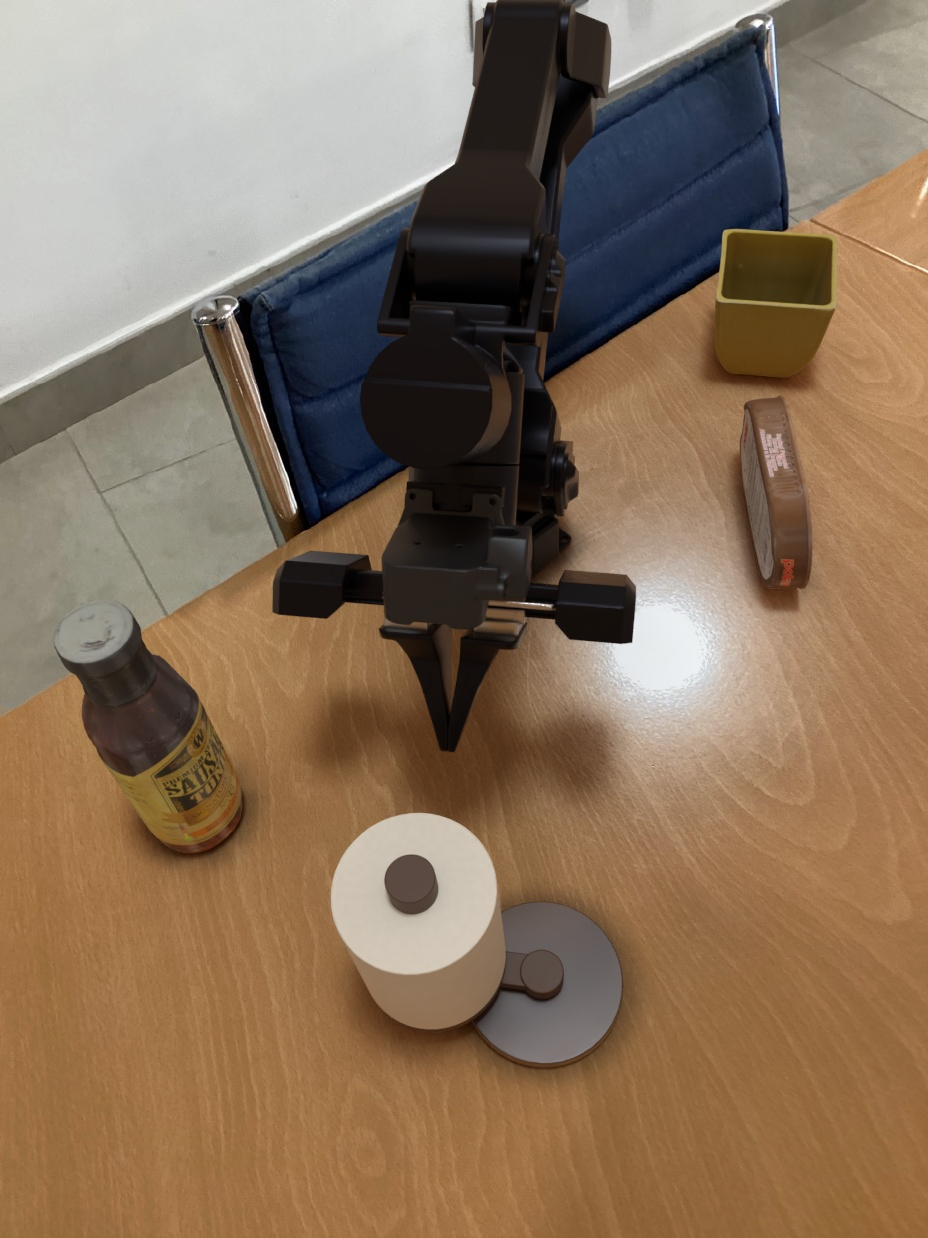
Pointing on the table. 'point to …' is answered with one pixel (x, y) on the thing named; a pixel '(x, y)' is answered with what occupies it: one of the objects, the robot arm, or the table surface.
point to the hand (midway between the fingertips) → (448, 750)
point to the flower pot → (773, 300)
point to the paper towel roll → (430, 924)
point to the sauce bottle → (149, 729)
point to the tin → (775, 495)
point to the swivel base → (580, 1005)
